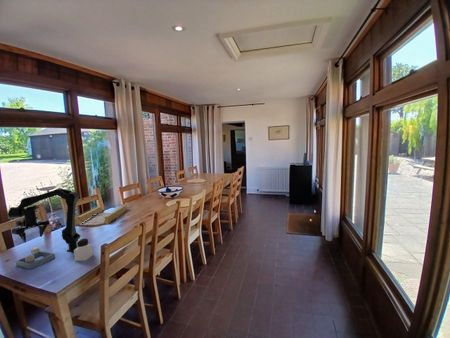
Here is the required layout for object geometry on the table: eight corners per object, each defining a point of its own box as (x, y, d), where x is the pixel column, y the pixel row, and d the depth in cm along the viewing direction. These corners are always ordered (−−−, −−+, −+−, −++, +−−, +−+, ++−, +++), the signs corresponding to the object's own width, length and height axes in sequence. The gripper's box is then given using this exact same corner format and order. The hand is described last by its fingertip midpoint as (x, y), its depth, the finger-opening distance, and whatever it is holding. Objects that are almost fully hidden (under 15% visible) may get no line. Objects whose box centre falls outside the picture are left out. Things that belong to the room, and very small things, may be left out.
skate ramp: (108, 227, 197) (106, 209, 195) (68, 229, 196) (66, 211, 195) (127, 213, 237) (126, 199, 235) (93, 215, 236) (92, 200, 235)
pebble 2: (41, 253, 149) (41, 247, 148) (34, 257, 145) (33, 250, 144) (37, 253, 150) (36, 246, 150) (30, 256, 146) (29, 249, 146)
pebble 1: (36, 262, 136) (36, 255, 136) (28, 266, 132) (27, 258, 132) (32, 261, 138) (31, 254, 138) (24, 264, 134) (23, 257, 134)
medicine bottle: (93, 255, 144) (91, 237, 143) (86, 260, 137) (84, 241, 136) (81, 255, 144) (79, 237, 143) (74, 261, 137) (72, 242, 136)
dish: (54, 258, 142) (54, 253, 142) (30, 269, 129) (29, 264, 129) (41, 255, 147) (40, 250, 146) (16, 265, 134) (15, 260, 134)
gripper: (38, 211, 155) (40, 232, 157) (4, 219, 138) (7, 244, 139) (49, 212, 152) (51, 234, 153) (15, 221, 134) (19, 246, 136)
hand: (33, 239), depth 145 cm, fingers open, 9 cm apart
